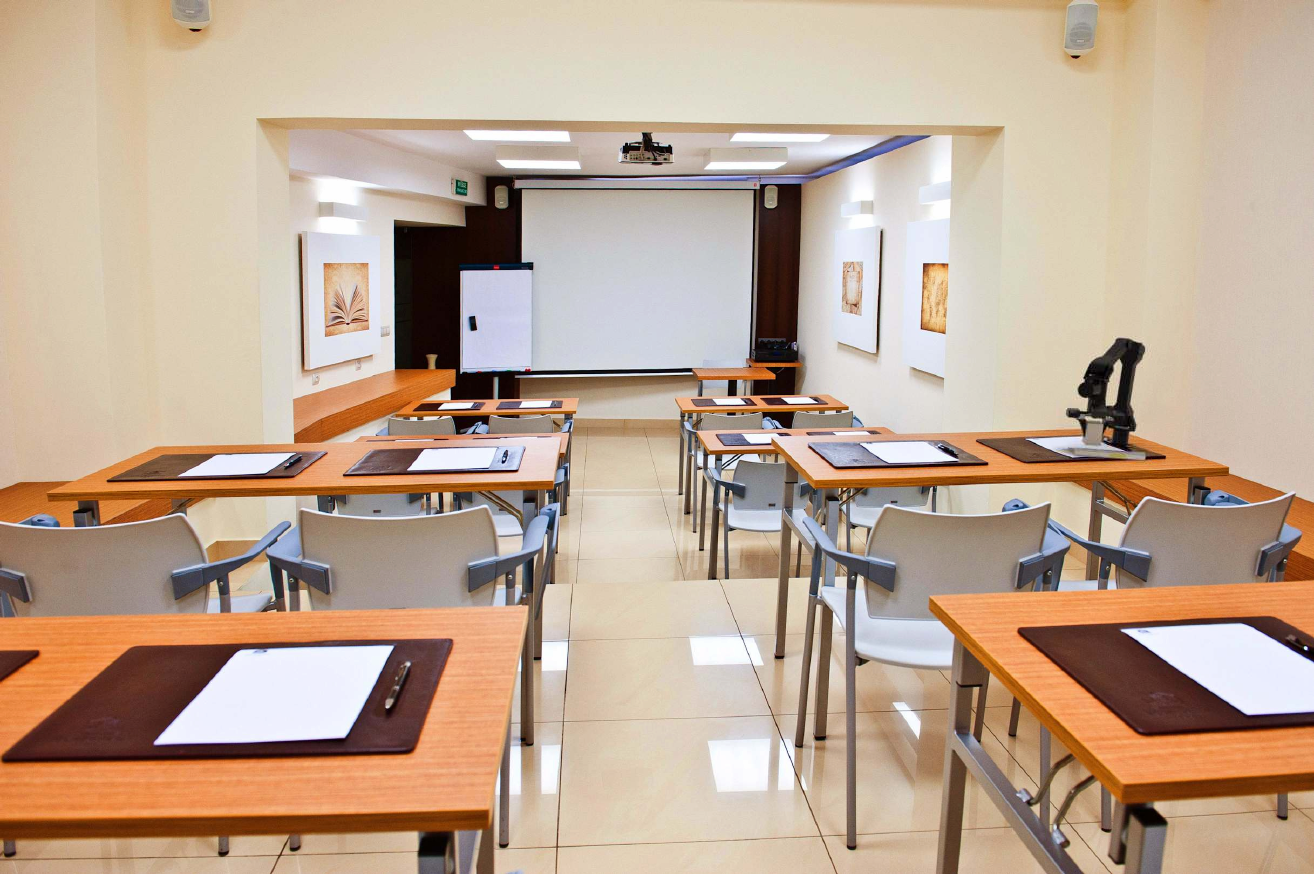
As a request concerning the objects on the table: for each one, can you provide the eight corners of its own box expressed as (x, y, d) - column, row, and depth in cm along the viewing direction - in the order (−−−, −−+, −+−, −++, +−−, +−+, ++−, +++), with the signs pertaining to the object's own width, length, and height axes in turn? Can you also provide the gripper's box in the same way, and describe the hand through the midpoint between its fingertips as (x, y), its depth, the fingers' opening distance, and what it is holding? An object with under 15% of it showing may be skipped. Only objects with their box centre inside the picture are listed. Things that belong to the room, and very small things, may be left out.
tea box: (1085, 445, 330) (1088, 423, 328) (1082, 441, 336) (1084, 419, 334) (1101, 446, 328) (1103, 424, 327) (1097, 442, 335) (1099, 420, 333)
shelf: (1067, 449, 339) (1068, 441, 338) (1135, 454, 333) (1136, 446, 332) (1074, 457, 326) (1075, 448, 325) (1144, 462, 320) (1145, 454, 320)
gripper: (1073, 397, 323) (1068, 440, 326) (1130, 400, 319) (1125, 444, 322) (1068, 392, 334) (1063, 434, 337) (1123, 395, 329) (1118, 437, 332)
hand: (1092, 437), depth 332 cm, fingers closed on tea box, 5 cm apart
